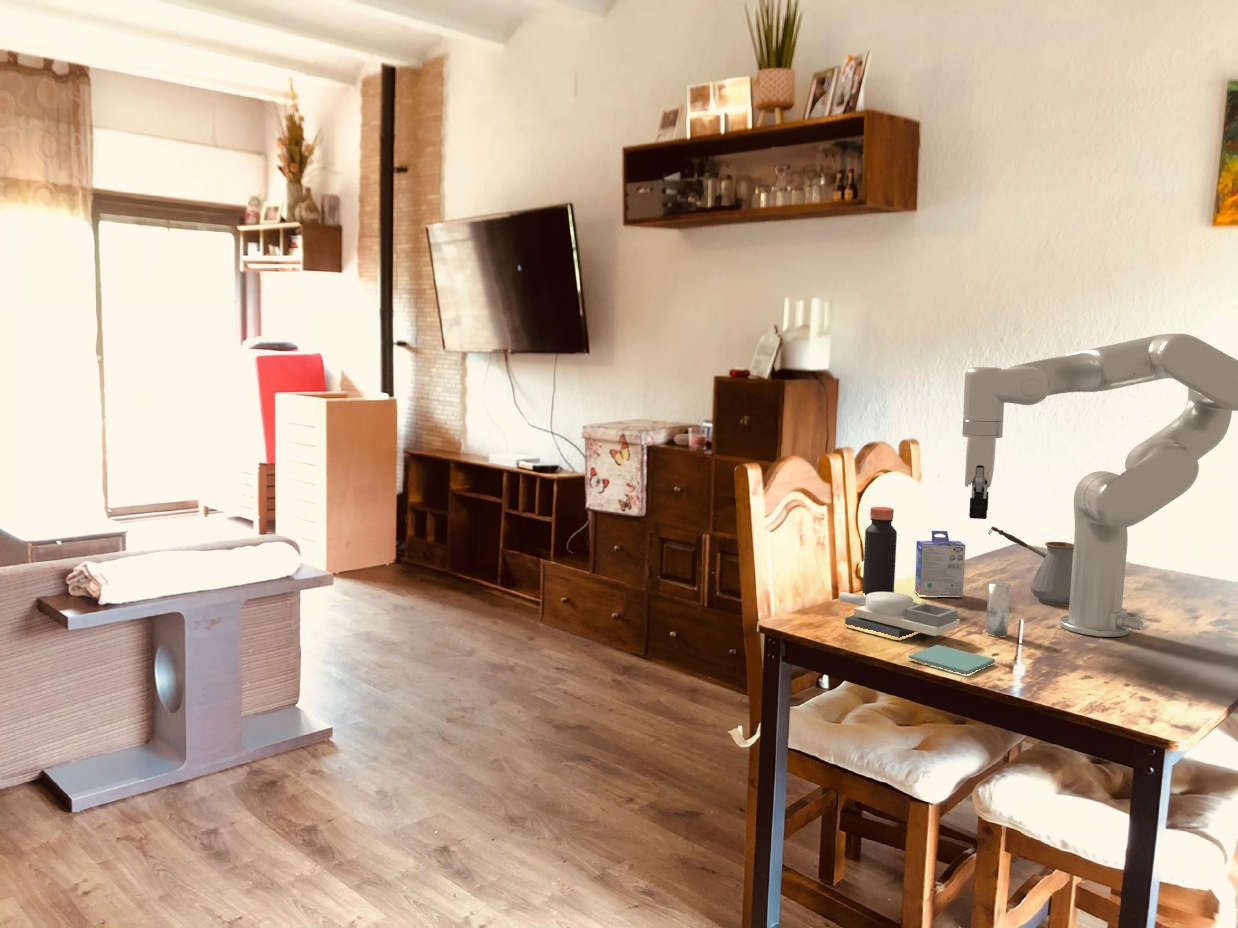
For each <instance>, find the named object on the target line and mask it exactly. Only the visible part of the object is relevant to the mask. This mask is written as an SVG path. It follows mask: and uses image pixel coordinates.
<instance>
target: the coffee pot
mask: <svg viewBox="0 0 1238 928" xmlns="http://www.w3.org/2000/svg"><path fill="white" fill-rule="evenodd" d="M993 531H994V532H997V533H998V535H1000V536H1003V537H1005V538H1006V539H1007V540H1009V541H1011V542H1013V543H1014V544H1017V545H1019V546H1021V547H1023V548H1026V549H1028V550H1029V551H1031V552H1033V553H1035V554H1037V555H1038V556H1041V557H1042V558H1043V560H1042V562H1041V564H1040V566H1039V568H1038V570H1037V571H1036V573H1035V576H1034V577H1033V579H1032V581H1031V582H1030V584H1029V589H1030V591H1031V593H1032V594H1033V596H1034V597H1036V598H1037V600H1038V601H1039V602H1041V603H1044V604H1048V605H1054V606H1063V607H1065V606H1068V607H1069V603H1070V589H1071V576H1072V562H1073V550H1074V543H1071V542H1065V541H1046V542H1045V543H1044V545H1045V546H1046V549H1047V553H1045V552H1043V551H1041V550H1039V549H1037V548H1035V547H1033V546H1032V545H1029V544H1028V543H1026V542H1024V541H1023V540H1022V539H1019V538H1018V537H1016V536H1014V535H1013V534H1010V533H1007V532H1005V531H1004V530H1002V529H999V528H998V527H995V526H991V528H990V529H989V531H988V533H987V534H988V535H991V534H992V532H993Z"/></svg>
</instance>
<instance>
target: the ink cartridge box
mask: <svg viewBox="0 0 1238 928" xmlns="http://www.w3.org/2000/svg"><path fill="white" fill-rule="evenodd" d="M939 534H940V535H944V536H942V537H941V536H935V535H939ZM915 547H916V551H915V552H916V554H915V556H916V557H915V579H914V581H915V584H914V592H915V591H916V592H917V593H918V594H919V595H926V596H960V597H964V578H965V560H966V548H967V547H966V544H965V543H963V542H961V541H959V540H950V538H949V534H948V531H947V530H931V540H916V546H915Z"/></svg>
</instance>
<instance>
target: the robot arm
mask: <svg viewBox="0 0 1238 928" xmlns="http://www.w3.org/2000/svg"><path fill="white" fill-rule="evenodd" d="M1165 379H1173V380H1175V381H1177V382H1179V383H1180V384H1182V385H1183V386H1185V387H1187V391H1188V392H1187V403H1186V406H1185V408H1184V410H1183V412H1182V413H1181V414H1180V415H1179V416H1178V417H1176V419H1174V420H1173V421H1172V422H1170V423H1169V424H1168V425H1166V426H1165V427H1163V428H1162V429H1160V430H1159V431H1158V432H1155V434H1153V435H1151V436H1150V437H1148V438H1147V439H1145V440H1144V441H1143V442H1141V443H1139V444H1138V445H1136V446H1134V448H1132V449H1131V450H1130V451H1129V453H1128V454H1127V456H1126V457H1125V461H1124V467H1125V471H1123V472H1122V473H1120V474H1117V473H1114V472H1112V471H1107V470H1105V471H1104V470H1100V471H1094V472H1091V473H1088V474H1087V475H1085V476H1084V477H1082V478H1081V479H1080V481H1079V482H1078V483H1077V484H1076V485H1077V486H1076V487H1075V489H1074V492H1073V493H1074V494H1073V513H1074V514H1073V515H1074V537H1073V544H1074V550H1073V562H1072V576H1071V589H1070V603H1069V606H1068V614H1066V615H1063V616H1061V617H1060V618H1059V625H1060V626H1061V627H1062V628H1064V629H1065V630H1067V631H1070V632H1073V633H1077V634H1080V635H1081V634H1082V635H1085V636H1093V637H1094V636H1095V637H1101V638H1103V637H1105V638H1116V637H1125V636H1126V635H1129V633H1130V629H1131V630H1135V631H1143V629H1144V621H1143V620H1142V619H1141V618H1139V617H1131V616H1129V614H1128V608H1123V599H1124V588H1125V575H1126V564H1127V562H1126V561H1127V554H1128V542H1129V540H1128V539H1129V538H1128V537H1129V536H1128V534H1129V533H1128V528H1130V527H1133V526H1135V525H1137V524H1139V523H1140V522H1142V521H1144V520H1146V519H1147V518H1149V517H1151V516H1152V515H1153V514H1155V513H1156V512H1158V511H1160V510H1161V509H1163V508H1164V507H1165V506H1167V505H1169V504H1171V503H1172V502H1173V501H1175V500H1176V499H1178V498H1180V497H1181V496H1182V495H1183V494H1185V493H1186V492H1187V491H1188V490H1189V489H1190V488H1191V487H1192V486H1193V485H1194V483H1195V481H1196V480H1197V478H1198V475H1199V469H1200V467H1199V460H1200V459H1202V457H1204V456H1206V455H1207V454H1208V453H1209V452H1211V451H1212V450H1214V449H1215V448H1216V447H1217V446H1218V445H1219V444H1220V443H1221V442H1222V441H1223V439H1224V438H1225V436H1226V434H1227V432H1228V430H1229V427H1230V423H1231V419H1232V413H1233V412H1236V411H1237V412H1238V359H1237V358H1234V357H1233V356H1231V355H1228V354H1227V353H1225V352H1224V351H1222V350H1219V349H1218V348H1217V347H1214V346H1212V345H1211V344H1209V343H1208V342H1205V341H1203V340H1201V339H1200V338H1198V337H1195V336H1193V335H1191V334H1187V333H1161V334H1157V335H1152V336H1151V335H1150V336H1147V337H1142V338H1137V339H1133V340H1128V341H1123V342H1118V343H1115V344H1113V343H1112V344H1109V345H1104V346H1100V347H1094V348H1090V349H1089V348H1088V349H1085V350H1081V351H1076V352H1073V353H1069V354H1065V355H1060V356H1054V357H1048V358H1044V359H1038V360H1035V361H1030V362H1025V363H1020V364H1017V365H1013V366H1010V367H1008V368H1001V367H994V366H993V367H990V366H974V367H970V368H968V369H967V370H966V372H965V374H964V391H963V413H962V434H961V435H962V436H961V437H965V438H967V441H966V450H965V451H966V452H965V453H966V454H965V470H964V471H965V472H964V473H965V475H964V486H965V487H966V488H968V487H969V485H971V497H970V498H969V513H968V514H969V515H968V516H969V518H970V519H976V520H986V519H987V518H988V516H987V515H988V509H989V491H988V488H990V487H991V485H992V481H993V477H994V467H995V461H996V460H995V457H996V443H997V442H996V440H997V439H1001V438H1003V436H1004V435H1003V434H1004V433H1003V432H1004V431H1003V430H1004V411H1005V404H1014V405H1022V406H1032V405H1033V406H1034V405H1036V404H1039V403H1041V402H1042V401H1044V400H1045V399H1047V397H1048V396H1055V395H1058V394H1059V395H1061V394H1066V393H1067V394H1068V393H1098V392H1105V391H1111V390H1115V389H1120V388H1123V387H1129V386H1133V385H1135V386H1136V385H1138V384H1144V383H1150V382H1153V381H1159V380H1165Z"/></svg>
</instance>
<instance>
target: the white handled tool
mask: <svg viewBox="0 0 1238 928" xmlns="http://www.w3.org/2000/svg"><path fill="white" fill-rule="evenodd" d="M838 597H839V598H838V599H839V601H840V602H843V603H846V604H847V603H848V604H850V605H856V606H859V607H856V608H854V610H853V612H854V613H853V615H854V616H856V617H860V618H864V619H868V620H872V621H876V622H880V623H884V624H888V625H892V626H896V627H900V628H904V629H908V630H913V631H917V632H921V634H925V635H929V636H933V637H937V636H940V635H942V634H945V633H947V632H950V631H953V630H955V629H958V628H960V622H961V621H960V619H959V618H958V611H959V610H958V609H954V608H949V607H945V606H940V605H936V604H932V603H928V602H921V603H918V604H915V605H914V598H913V597H912V596H909V595H907V594H904V593H898V592H894V593H893V592H873V593H869V594H867V595H866V597H864V596H863V595H860V594H859V595H858V594H855V593H850V592H846V591H841V592H840V593H839V596H838Z"/></svg>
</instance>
